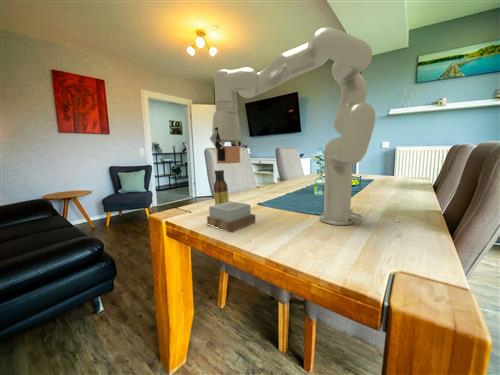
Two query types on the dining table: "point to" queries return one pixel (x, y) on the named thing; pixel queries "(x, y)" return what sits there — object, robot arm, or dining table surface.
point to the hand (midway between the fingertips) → (228, 159)
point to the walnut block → (232, 223)
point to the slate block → (230, 211)
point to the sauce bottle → (220, 188)
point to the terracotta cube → (230, 154)
